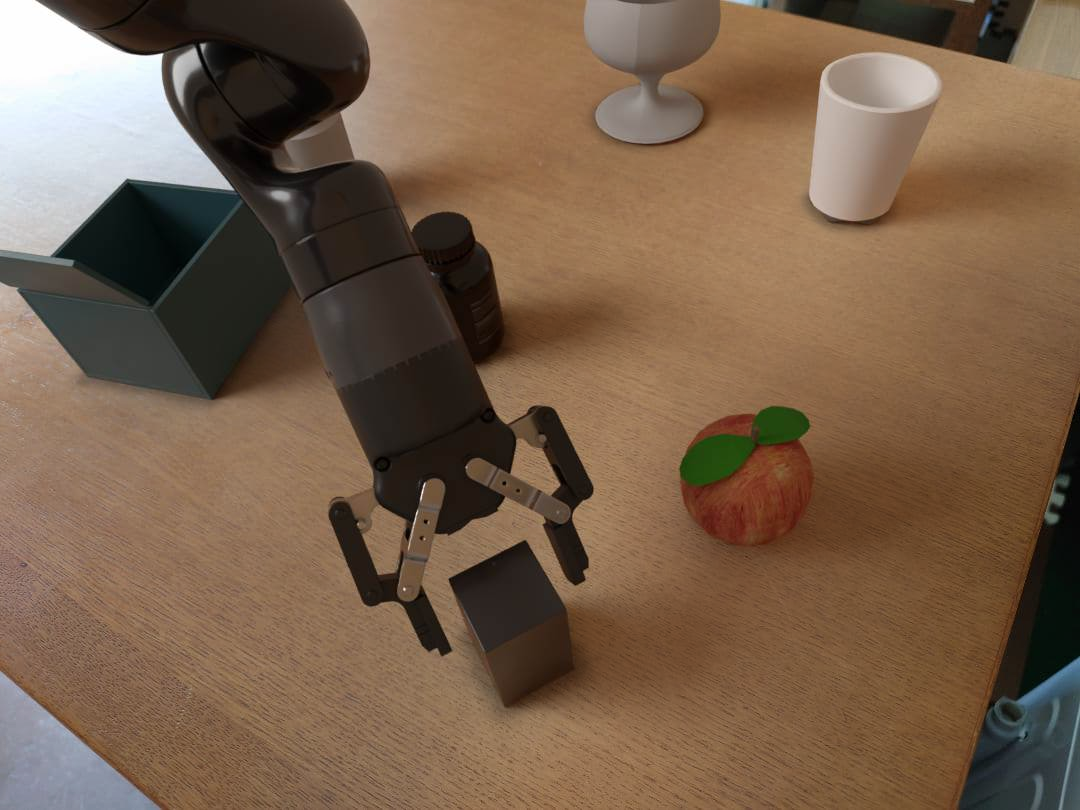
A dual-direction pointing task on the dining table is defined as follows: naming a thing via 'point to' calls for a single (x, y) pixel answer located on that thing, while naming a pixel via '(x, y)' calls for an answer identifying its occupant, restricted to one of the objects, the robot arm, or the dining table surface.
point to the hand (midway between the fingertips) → (512, 614)
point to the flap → (62, 278)
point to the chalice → (650, 62)
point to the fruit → (749, 476)
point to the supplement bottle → (463, 279)
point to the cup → (868, 132)
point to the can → (321, 144)
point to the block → (515, 622)
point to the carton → (167, 287)
